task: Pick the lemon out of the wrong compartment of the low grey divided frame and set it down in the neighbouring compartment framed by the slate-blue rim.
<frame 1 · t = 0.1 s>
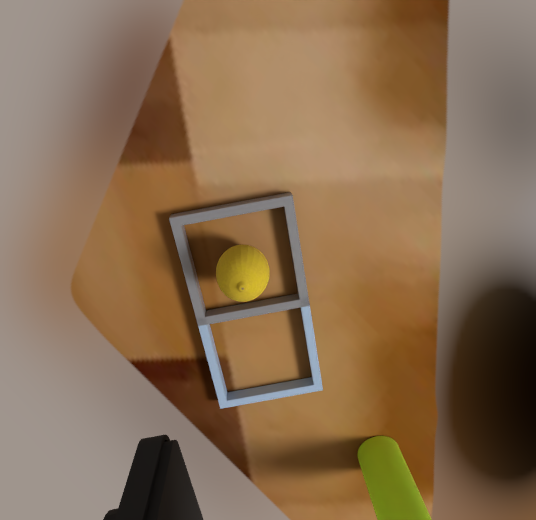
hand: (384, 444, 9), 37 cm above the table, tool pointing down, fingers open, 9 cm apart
grey divided frame: (252, 305, 49), on the table
lemon: (242, 258, 47), resting in grey divided frame
soap dispenser: (377, 448, 58), on the table
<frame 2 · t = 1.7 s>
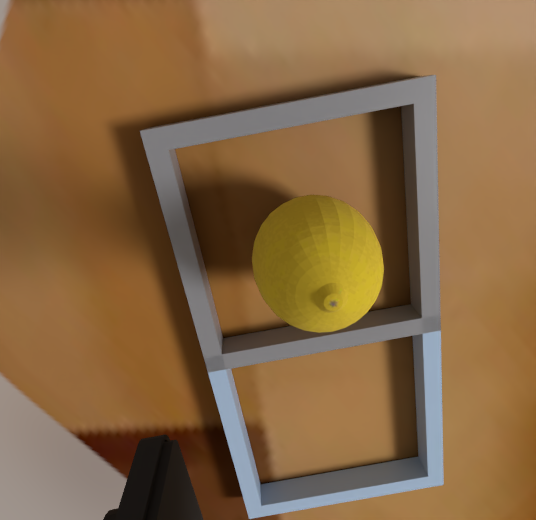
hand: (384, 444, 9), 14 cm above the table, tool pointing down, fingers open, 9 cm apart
grey divided frame: (317, 328, 24), on the table
lemon: (302, 230, 22), resting in grey divided frame
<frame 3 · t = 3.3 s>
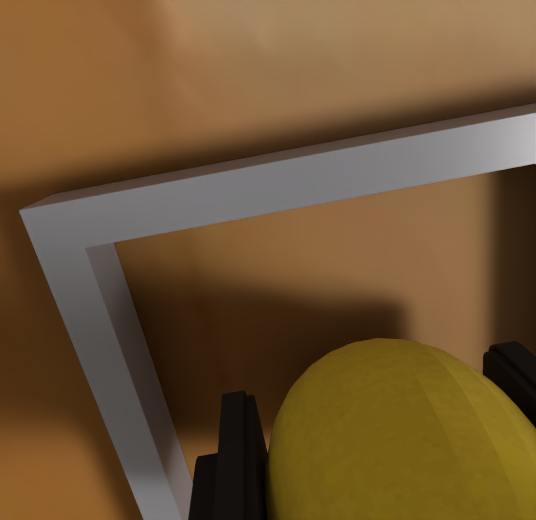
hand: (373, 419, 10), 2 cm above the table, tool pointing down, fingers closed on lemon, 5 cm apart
grey divided frame: (372, 517, 14), on the table
lemon: (352, 367, 12), resting in grey divided frame, touching gripper
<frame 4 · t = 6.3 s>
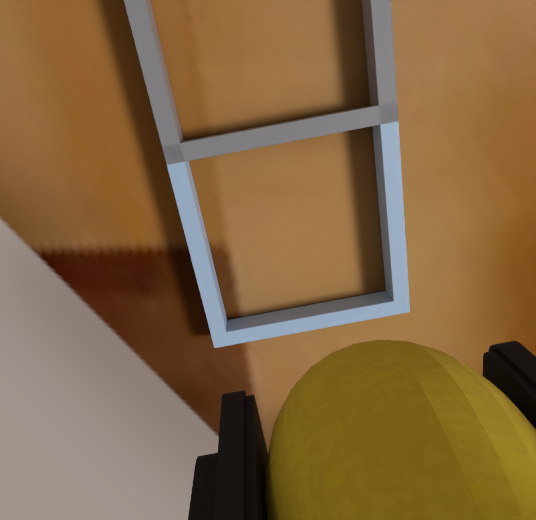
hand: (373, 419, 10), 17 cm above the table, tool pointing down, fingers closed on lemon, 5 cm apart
grey divided frame: (278, 132, 24), on the table
lemon: (353, 369, 12), point 15 cm above the table, touching gripper
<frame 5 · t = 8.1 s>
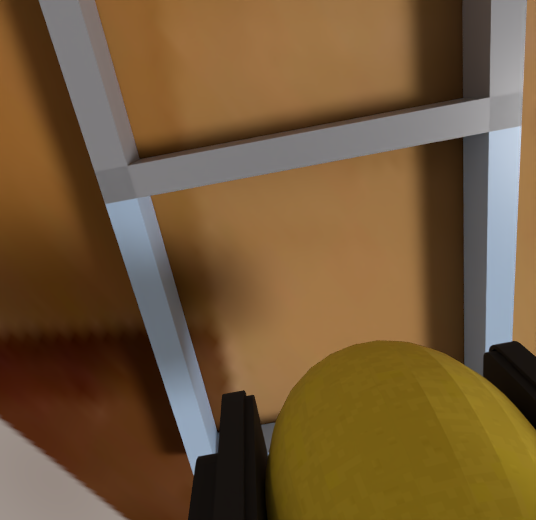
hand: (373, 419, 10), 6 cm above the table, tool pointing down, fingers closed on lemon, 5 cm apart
grey divided frame: (302, 143, 14), on the table
lemon: (353, 369, 12), point 4 cm above the table, touching gripper
when the fingers open (3 cm above the table, at t = 9.6 s): lemon drops 1 cm, resting in grey divided frame.
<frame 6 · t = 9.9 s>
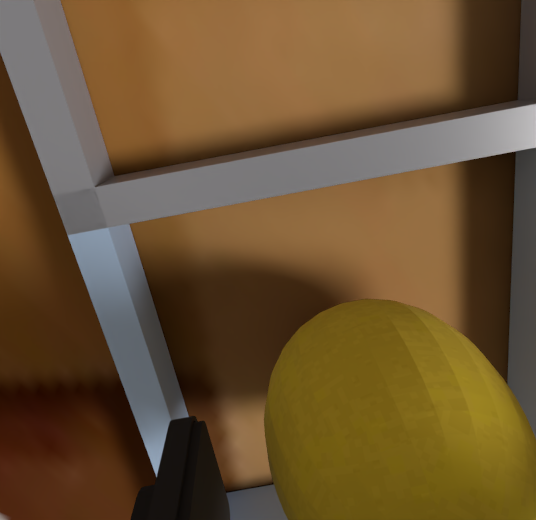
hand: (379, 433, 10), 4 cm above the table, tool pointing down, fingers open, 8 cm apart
grey divided frame: (317, 157, 11), on the table
lemon: (342, 335, 14), resting in grey divided frame
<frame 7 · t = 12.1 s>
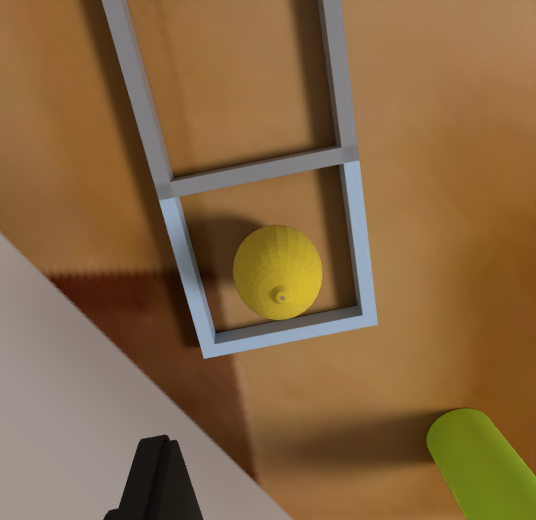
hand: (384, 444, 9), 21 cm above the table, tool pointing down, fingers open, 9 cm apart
grey divided frame: (256, 169, 28), on the table
lemon: (273, 249, 30), resting in grey divided frame
soap dispenser: (458, 429, 36), on the table
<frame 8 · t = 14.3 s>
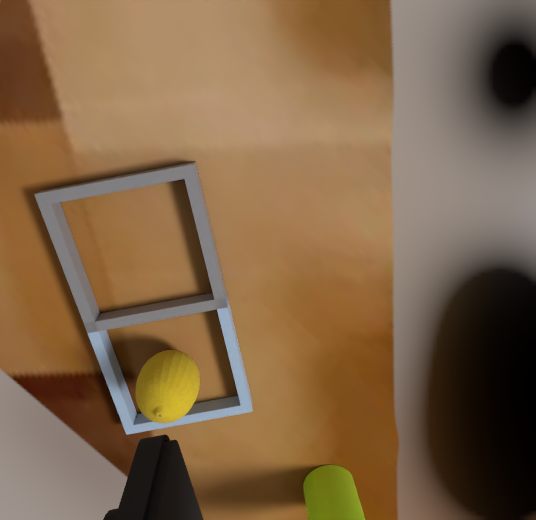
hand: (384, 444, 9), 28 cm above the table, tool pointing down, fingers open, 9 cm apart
grey divided frame: (159, 307, 39), on the table
lemon: (176, 357, 41), resting in grey divided frame
soap dispenser: (328, 479, 48), on the table
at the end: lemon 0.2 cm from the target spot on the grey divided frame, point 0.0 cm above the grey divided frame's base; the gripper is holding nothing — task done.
